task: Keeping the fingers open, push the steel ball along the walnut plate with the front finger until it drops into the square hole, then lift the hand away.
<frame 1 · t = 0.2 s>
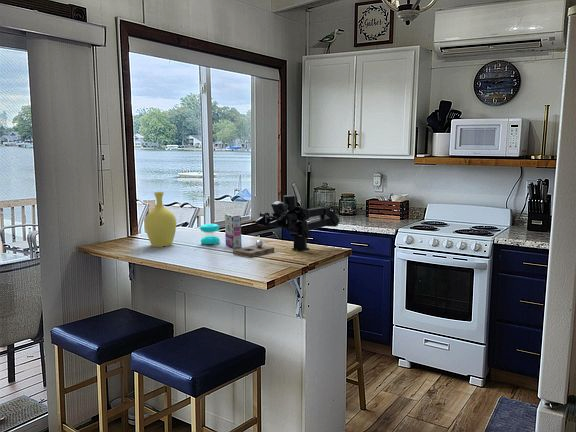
hand: (262, 223, 225), 16 cm above the countertop, tool horizontal, fingers open, 9 cm apart
steel ball: (259, 243, 242), point 4 cm above the countertop, touching walnut plate
vase: (162, 245, 264), on the countertop
walnut plate: (253, 252, 240), on the countertop
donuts: (210, 243, 265), on the countertop
candy bar box: (233, 246, 256), on the countertop
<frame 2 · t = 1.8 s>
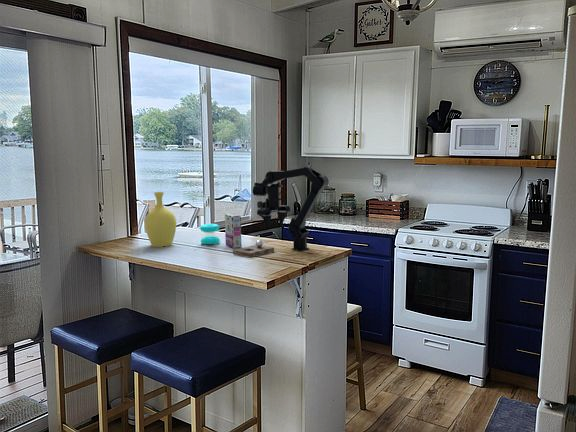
hand: (274, 227, 250), 10 cm above the countertop, tool pointing down, fingers open, 9 cm apart
nothing on the countertop moved.
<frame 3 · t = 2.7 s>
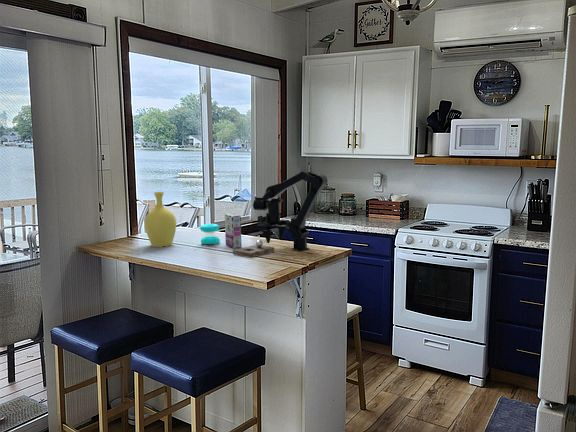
hand: (274, 241, 251), 3 cm above the countertop, tool pointing down, fingers open, 9 cm apart
nothing on the countertop moved.
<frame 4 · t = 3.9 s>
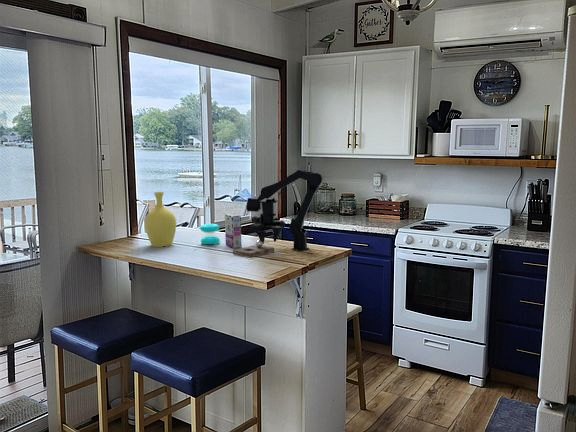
hand: (268, 242, 248), 3 cm above the countertop, tool pointing down, fingers open, 8 cm apart
steel ball: (259, 243, 242), point 4 cm above the countertop, touching gripper, walnut plate
everything else where it was.
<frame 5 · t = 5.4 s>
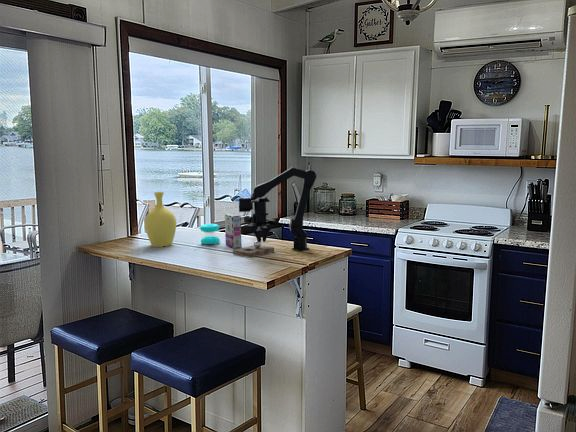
hand: (261, 242, 244), 4 cm above the countertop, tool pointing down, fingers open, 3 cm apart
steel ball: (257, 244, 242), point 4 cm above the countertop, tilted 40°, touching gripper, walnut plate
everything else where it was.
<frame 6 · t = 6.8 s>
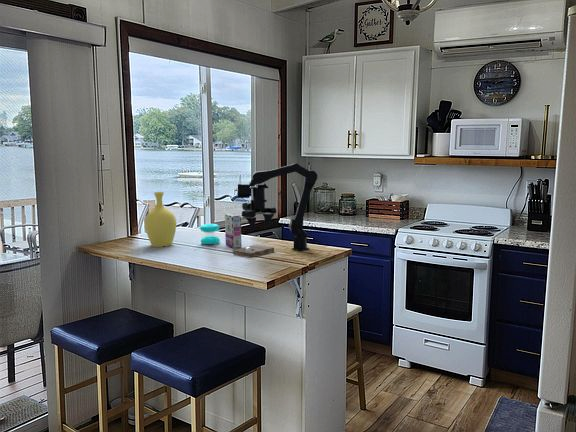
hand: (259, 229, 242), 11 cm above the countertop, tool pointing down, fingers open, 9 cm apart
steel ball: (248, 250, 237), point 2 cm above the countertop, tilted 83°
everything else where it was.
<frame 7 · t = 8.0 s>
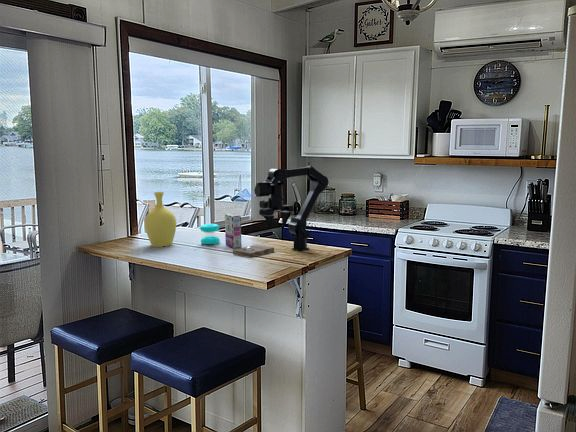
hand: (277, 228, 237), 12 cm above the countertop, tool pointing down, fingers open, 9 cm apart
steel ball: (249, 250, 237), point 2 cm above the countertop, tilted 97°
everything else where it was.
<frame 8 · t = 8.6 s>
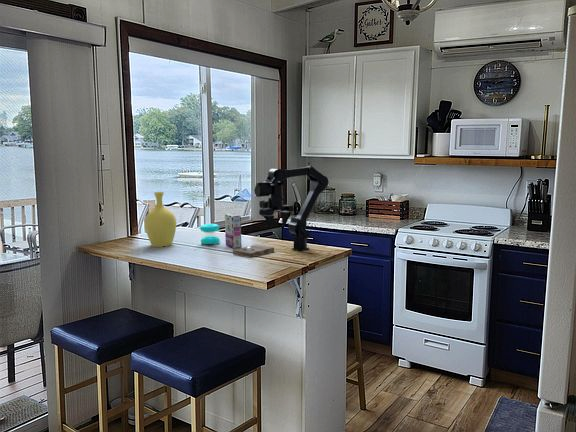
hand: (277, 228, 237), 12 cm above the countertop, tool pointing down, fingers open, 9 cm apart
steel ball: (249, 250, 238), point 2 cm above the countertop, tilted 104°
everything else where it was.
at the end: steel ball 0.3 cm from the target spot on the walnut plate, point 1.7 cm above the walnut plate's base; the gripper is holding nothing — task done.
